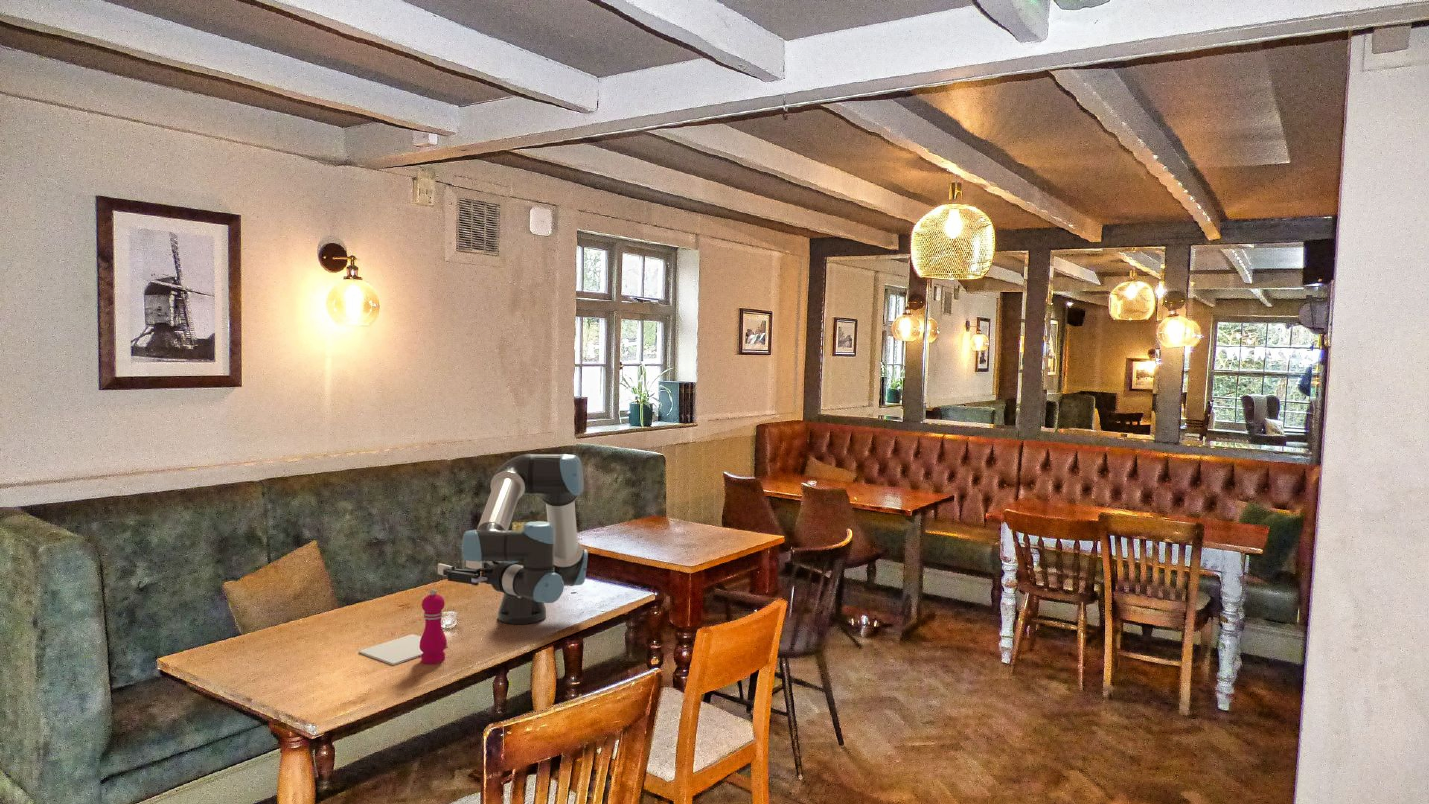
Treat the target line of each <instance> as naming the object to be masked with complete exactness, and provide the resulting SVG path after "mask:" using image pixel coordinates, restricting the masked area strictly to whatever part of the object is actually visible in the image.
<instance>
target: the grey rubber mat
mask: <svg viewBox="0 0 1429 804" xmlns="http://www.w3.org/2000/svg"><path fill="white" fill-rule="evenodd" d="M421 637H422V635H421V636H420V635H417V634H414V633H411V634H408V635H405V636H402V637H398V638H395V639H393V640H389V641H386V642H383V643H380V644H376V645H372V646H370V647H367V648H364V649H360V650H358V654H360V653H361V654H360V655H364V656H366V657H369V658H371V659H375V660H377V661H380V662H383V663H386V664H387V665H392V666H396V665H400V664H402V663H405V661H406V662H409V661H410V660H411V659H412V660H415V659H417V658H420V657H421V655H422V653H423V652H422V651H421V650H420V647H419V646H420V640H421ZM446 647H447V648H448V644H447V646H446ZM419 656H420V657H419Z"/></svg>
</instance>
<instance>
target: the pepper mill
mask: <svg viewBox="0 0 1429 804" xmlns="http://www.w3.org/2000/svg"><path fill="white" fill-rule="evenodd" d="M437 592H438V591H437V590H436V588H432V589H430V591H429V594H428V595H426V596H424V598H423V599H422V601H421V609H422V610H423V611H424V612H423V619H424V620H425V621H424V622H425V623H424V624H425V625H424V630H423V633H422V635H421V640H420V646H419V647H420V650H421V651H422V652H423V653H422V655H421V656H420V661H421V663H423V664H427V665H435V663H436V664H439V662H440V663H442V662H444V661H445V660H446V652H445V651H444V650H445V649H446V646H447V645H448V642H447V637H446V634H445V633H444V630H443V628H442V617H443V615H444V614H443V612H444V611H442V610H443V609H444V608H445V604H446V603H445V599H444V597H443V596H442V595H440V594H437Z"/></svg>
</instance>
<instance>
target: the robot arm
mask: <svg viewBox="0 0 1429 804" xmlns="http://www.w3.org/2000/svg"><path fill="white" fill-rule="evenodd" d="M584 478H585V477H584V469H583V464H582V461H581V458H580V457H579V456H578V455H576V454H567V453H563V454H559V453H558V454H554V453H551V454H549V453H548V454H545V453H542V454H541V453H540V454H539V453H536V454H535V453H525V454H520V455H517V456H515V457H512V458H511V459H509V460H508V461H505V463H503V464H502V465H501V466H500V467H499V468H497V470H496V471H495V473H494V474H493V476H492V478H491V480H490V490H491V491H490V494H489V497H488V499H487V501H486V504H485V507H484V509H483V512H482V514H481V517H480V521H479V523H478V525H477V529H473V530H467V531H465V532H464V534H463V536H462V539H461V540H462V542H461V554H462V557H463V559H464V560H465V567H466V568H469V569H466V568H457V567H456V565H448V564H444V563H437V574H438V575H441V576H444V577H447V581H448V582H453V583H461V584H465V585H467V584H468V585H472V586H475V587H477V586H479V583H483V584H486V585H491V587H492V588H493V589H494V590H495V591H496V592H500V593H503V595H502V599H501V602H500V605H499V608H498V611H497V613H498V614H497V619H498V620H499V621H500V622H501V623H505V624H509V625H510V624H511V625H527V624H528V623H529V624H534V623H537V622H541V621H543V620H544V619H545V618H547V608H546V605H545V604H554V603H555V602H557V601H558V600H559V599H560V597H562V594H563V592H564V588H565V587H574V586H575V587H576V586H581V585H583V584H584V583H585V581H586V576H587V574H586V573H587V566H588V555H589V551H588V549H587V548H583V546H582V544H581V543H580V542H579V541H578V532H577V531H578V529H577V517H576V504H575V503H576V502H575V501H576V500H577V499H578V497H579V495H581V494H583V492H584V487H585V486H584V485H585V479H584ZM524 495H539V498H540V500H541V501H542V502H543V503H544V504H545V508H546V509H545V510H546V519H547V520H546V521H542V520H540V521H538V520H537V521H529V522H526V523H524V525H523V529H522V530H521V529H520V530H519V529H518V530H510V525H511V522H512V520H513V515H514V513H515V510H516V506H517V504H518V500H519V499H520V498H521V497H522V496H524ZM540 620H541V621H540Z"/></svg>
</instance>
